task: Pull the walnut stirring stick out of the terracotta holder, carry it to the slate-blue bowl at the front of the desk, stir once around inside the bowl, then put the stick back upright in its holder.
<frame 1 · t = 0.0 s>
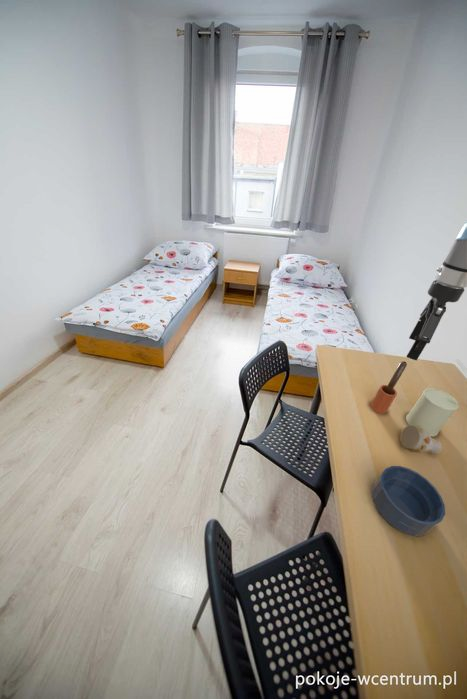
hand: (412, 348, 87), 20 cm above the table, tool pointing down, fingers open, 13 cm apart
holder: (378, 408, 92), on the table
can: (421, 425, 88), on the table
stick: (379, 406, 91), resting on holder
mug: (416, 447, 80), on the table
bowl: (399, 506, 65), on the table
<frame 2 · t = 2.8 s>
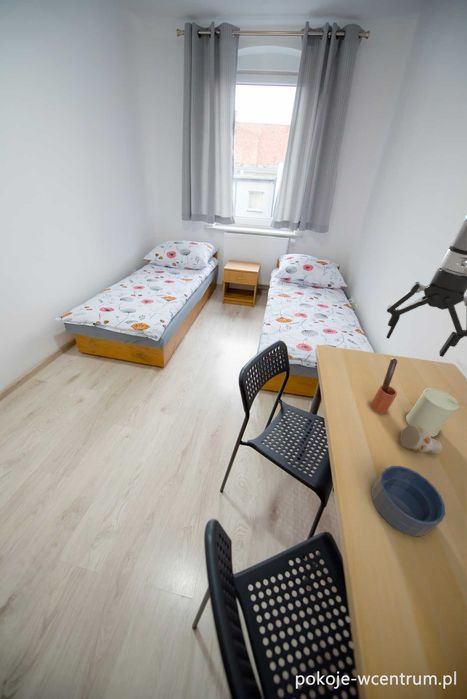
hand: (413, 345, 78), 25 cm above the table, tool pointing down, fingers open, 13 cm apart
stick: (379, 406, 91), point 1 cm above the table, tilted 8°, touching holder
everything else where it was.
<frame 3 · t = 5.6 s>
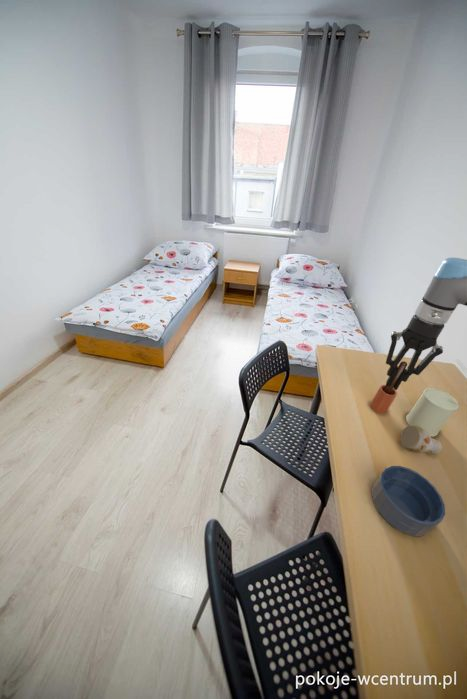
hand: (391, 385, 86), 10 cm above the table, tool pointing down, fingers closed on stick, 2 cm apart
stick: (379, 406, 91), point 1 cm above the table, touching gripper
everything else where it was.
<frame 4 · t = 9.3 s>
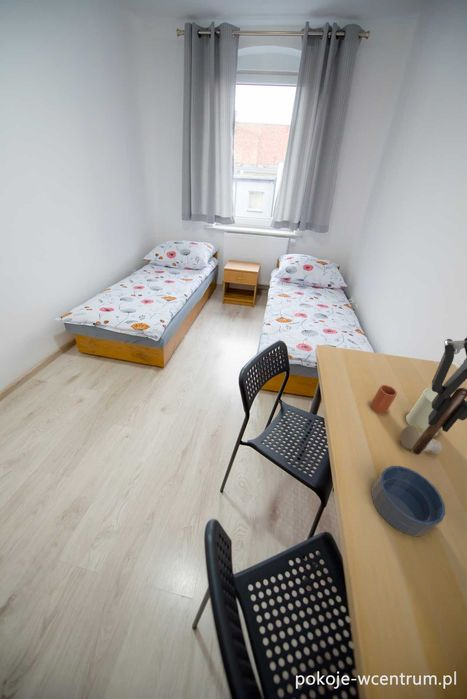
hand: (437, 423, 55), 24 cm above the table, tool pointing down, fingers closed on stick, 2 cm apart
stick: (414, 452, 60), point 15 cm above the table, touching gripper
everything else where it was.
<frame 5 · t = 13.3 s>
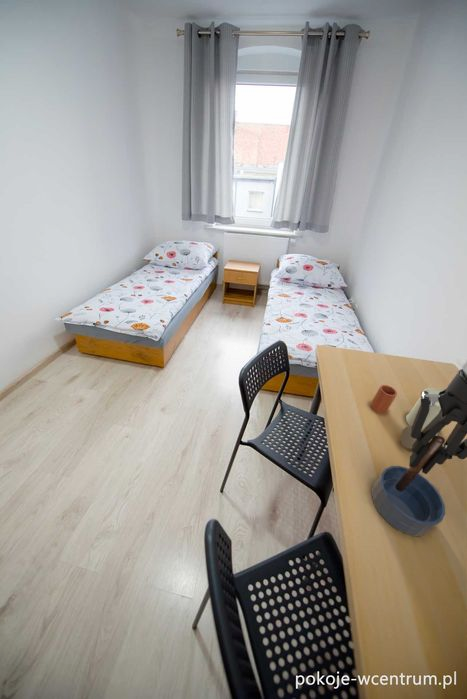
hand: (418, 465, 58), 14 cm above the table, tool pointing down, fingers closed on stick, 2 cm apart
stick: (398, 489, 63), point 5 cm above the table, touching gripper
everything else where it was.
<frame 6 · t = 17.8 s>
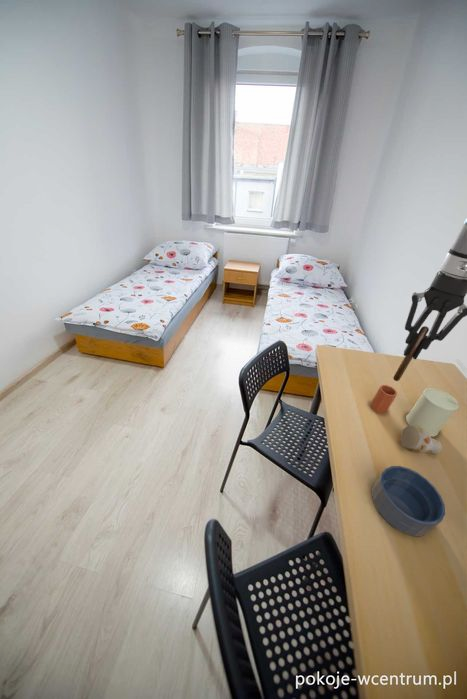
hand: (409, 355, 78), 22 cm above the table, tool pointing down, fingers closed on stick, 2 cm apart
stick: (395, 380, 84), point 13 cm above the table, touching gripper
everything else where it was.
when the fingers open (10 cm above the table, at t = 21.3 s): stick stays where it is, resting on holder.
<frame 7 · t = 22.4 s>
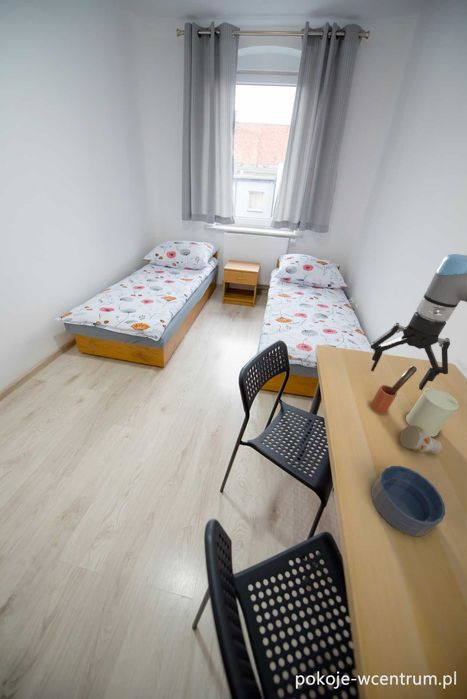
hand: (395, 378, 84), 13 cm above the table, tool pointing down, fingers open, 13 cm apart
stick: (378, 406, 91), point 1 cm above the table, tilted 9°, touching holder
everything else where it was.
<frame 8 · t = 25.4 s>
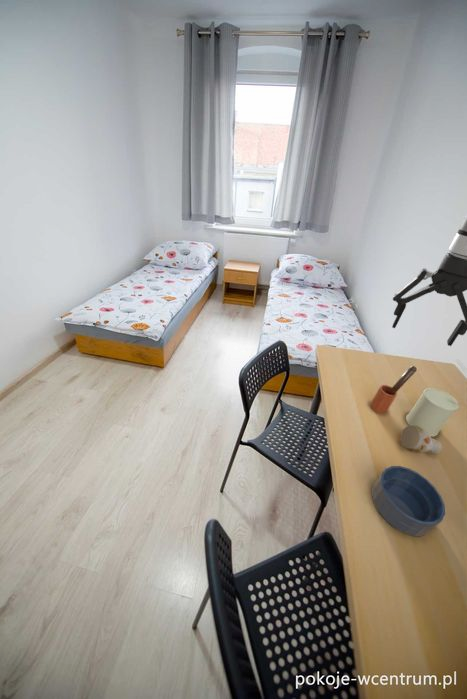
hand: (420, 334, 76), 29 cm above the table, tool pointing down, fingers open, 13 cm apart
nothing on the table moved.
at the end: stick 0.1 cm off-centre in the holder, point 0.5 cm above the holder's base; stick tilted 9°; stick touching holder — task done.
